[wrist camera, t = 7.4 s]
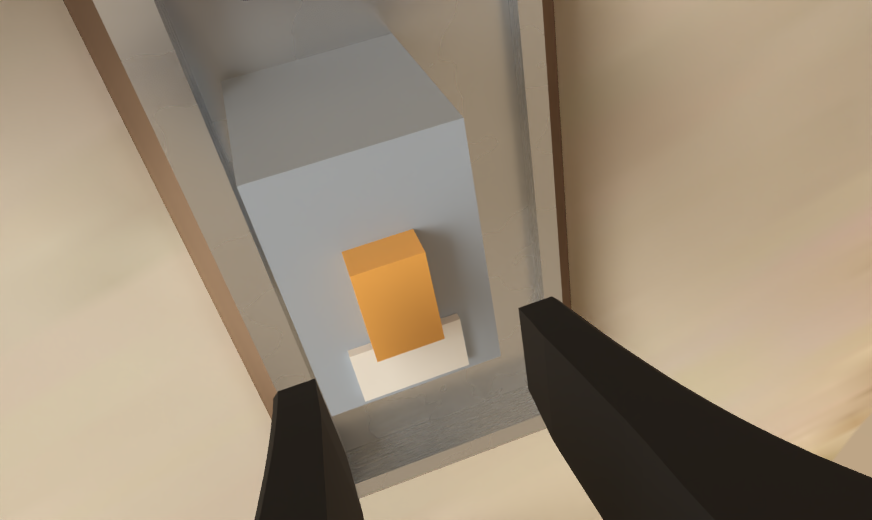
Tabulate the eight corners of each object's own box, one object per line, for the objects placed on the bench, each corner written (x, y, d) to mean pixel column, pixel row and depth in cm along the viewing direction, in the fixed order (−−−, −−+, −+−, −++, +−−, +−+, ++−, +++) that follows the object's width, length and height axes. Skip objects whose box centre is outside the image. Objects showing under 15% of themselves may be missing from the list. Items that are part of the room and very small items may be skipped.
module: (391, 33, 16) (479, 136, 11) (435, 239, 19) (514, 380, 15) (221, 81, 15) (239, 211, 11) (299, 283, 19) (338, 444, 14)
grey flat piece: (474, -464, 12) (528, -508, 10) (549, 369, 26) (579, 415, 24) (-51, -373, 11) (-99, -405, 9) (319, 452, 24) (331, 508, 22)
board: (498, -626, 12) (516, -649, 11) (567, 380, 28) (576, 394, 27) (-188, -533, 10) (-212, -552, 9) (305, 476, 26) (308, 493, 25)
